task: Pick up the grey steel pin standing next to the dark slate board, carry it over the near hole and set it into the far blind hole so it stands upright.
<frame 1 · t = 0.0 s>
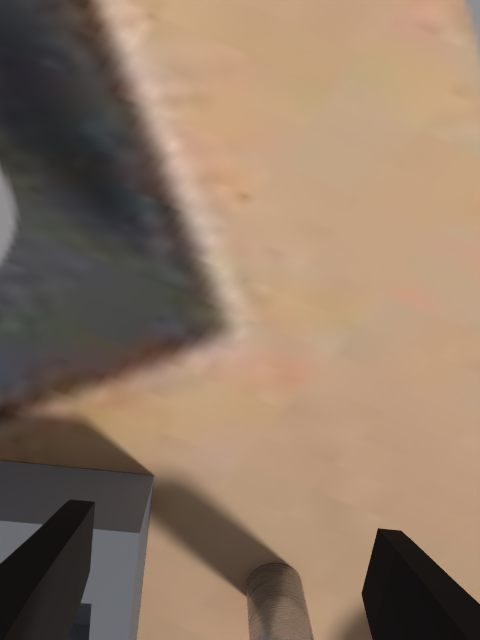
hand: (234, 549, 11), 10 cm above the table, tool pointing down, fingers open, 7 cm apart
pin: (274, 586, 24), on the table
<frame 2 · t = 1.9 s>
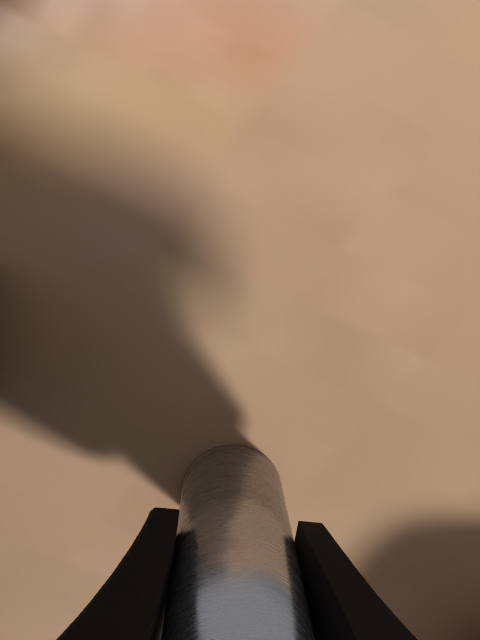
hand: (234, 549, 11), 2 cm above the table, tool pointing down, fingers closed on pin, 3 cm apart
pin: (231, 489, 13), on the table, touching gripper
when the fingers open (5 cm above the table, at t = 8.1 s): pin drops 1 cm, resting on hole board.
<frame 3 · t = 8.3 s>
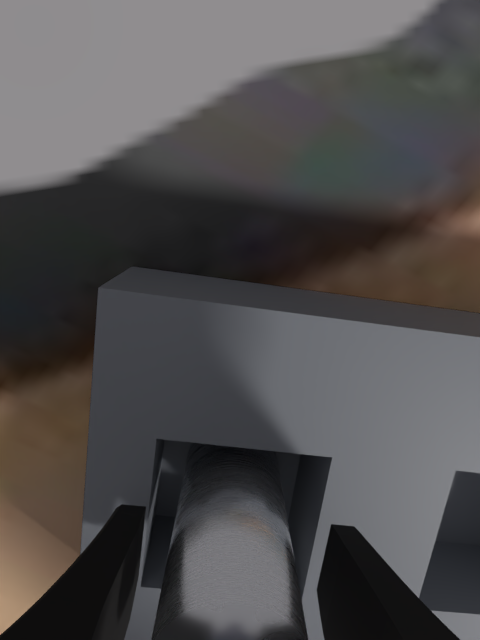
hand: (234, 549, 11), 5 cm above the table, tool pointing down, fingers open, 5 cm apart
hole board: (338, 458, 16), on the table
pin: (232, 461, 15), point 1 cm above the table, touching hole board
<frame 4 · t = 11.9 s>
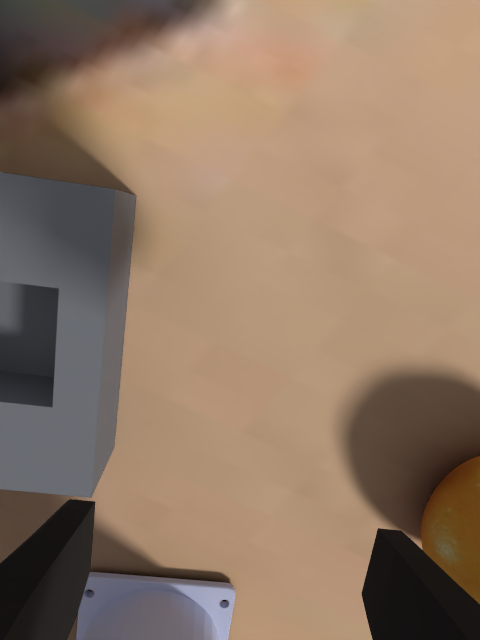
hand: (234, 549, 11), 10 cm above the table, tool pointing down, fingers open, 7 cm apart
fruit: (473, 498, 23), on the table
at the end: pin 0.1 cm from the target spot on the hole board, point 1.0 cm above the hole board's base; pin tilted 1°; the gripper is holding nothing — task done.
